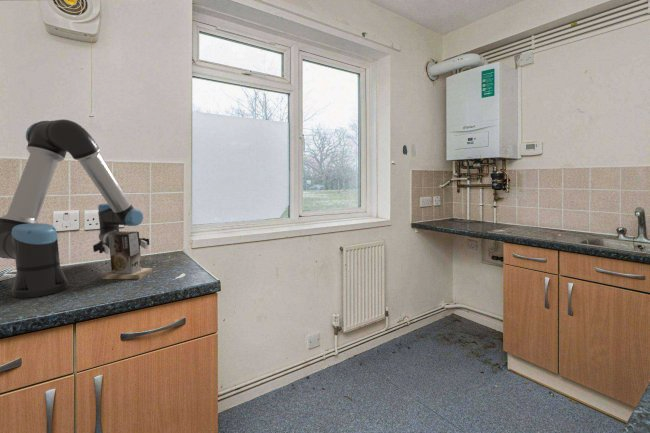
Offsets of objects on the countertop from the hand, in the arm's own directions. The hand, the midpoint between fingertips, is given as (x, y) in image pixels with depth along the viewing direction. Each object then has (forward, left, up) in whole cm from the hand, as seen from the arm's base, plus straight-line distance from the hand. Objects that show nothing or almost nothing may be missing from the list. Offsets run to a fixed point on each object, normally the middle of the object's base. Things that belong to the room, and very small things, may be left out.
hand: (127, 248), depth 134 cm
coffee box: (0, +3, -10) cm, 11 cm away
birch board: (0, +3, -12) cm, 12 cm away
